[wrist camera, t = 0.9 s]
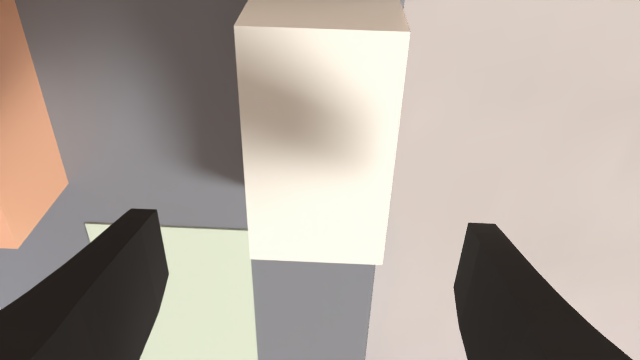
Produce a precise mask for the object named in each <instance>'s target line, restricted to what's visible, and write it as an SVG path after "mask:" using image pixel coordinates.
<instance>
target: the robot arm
mask: <svg viewBox="0 0 640 360" xmlns="http://www.w3.org/2000/svg"><path fill="white" fill-rule="evenodd" d="M168 276H169V271H168V266H167V260H166V255H165V250H164V244H163V239H162V234H161V228H160V223H159V218H158V212H157V209H135V208H131V209H130V210H128V211H127V212H126V213H125V214H123V215H122V216H121V217H120V218H119V219H117V220H116V221H115V222H114V223H113V224H112V225H110V226H109V227H108V228H107V229H106V230H105V231H103V232H102V233H101V234H100V235H99V236H97V237H96V238H95V239H94V240H93V241H92V242H90V243H89V244H88V245H87V246H85V247H84V248H83V249H82V250H81V251H79V252H78V253H77V254H76V255H75V256H73V257H72V258H71V259H70V260H68V261H67V262H66V263H65V264H63V265H62V266H61V267H60V268H58V269H57V270H56V271H54V272H53V273H52V274H50V275H49V276H48V277H46V278H45V279H44V280H42V281H41V282H40V283H38V284H37V285H36V286H34V287H33V288H32V289H30V290H29V291H28V292H26V293H25V294H23V295H22V296H21V297H19V298H18V299H16V300H15V301H13V302H12V303H10V304H9V305H7V306H6V307H4V308H3V309H1V310H0V360H140V357H141V355H142V352H143V350H144V348H145V345H146V343H147V340H148V338H149V336H150V333H151V331H152V328H153V326H154V323H155V321H156V318H157V316H158V313H159V310H160V307H161V303H162V300H163V296H164V292H165V288H166V284H167V280H168ZM454 294H455V302H456V310H457V316H458V323H459V329H460V332H461V336H462V340H463V344H464V348H465V351H466V355H467V359H468V360H632V359H631V358H630V357H629V356H628V355H626V354H625V353H624V352H623V351H621V350H620V349H619V348H618V347H617V346H615V345H614V344H613V343H612V342H611V341H609V340H608V339H607V338H606V337H604V336H603V335H602V334H601V333H600V332H599V331H598V330H596V329H595V328H594V327H593V326H592V325H591V324H590V323H589V322H587V321H586V320H585V319H584V318H583V317H582V316H581V315H580V314H579V313H578V312H577V311H576V310H575V309H574V308H573V307H572V306H571V305H569V304H568V303H567V302H566V301H565V300H564V299H563V298H562V297H561V296H560V295H559V294H558V293H557V292H556V291H555V290H554V289H553V288H552V286H551V285H550V284H549V283H548V282H547V281H546V280H545V279H544V278H543V277H542V276H541V275H540V274H539V273H538V272H537V271H536V269H535V268H534V267H533V266H532V265H531V264H530V263H529V262H528V261H527V259H526V258H525V257H524V256H523V255H522V254H521V253H520V252H519V250H518V249H517V248H516V247H515V246H514V245H513V244H512V242H511V241H510V240H509V239H508V238H507V237H506V236H505V234H504V233H503V232H502V231H501V230H500V229H499V228H498V227H497V225H496V224H485V223H468V227H467V231H466V235H465V240H464V244H463V248H462V253H461V257H460V261H459V266H458V270H457V275H456V279H455V283H454Z"/></svg>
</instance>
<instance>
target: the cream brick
mask: <svg viewBox="0 0 640 360" xmlns="http://www.w3.org/2000/svg"><path fill="white" fill-rule="evenodd" d="M234 37H235V51H236V65H237V80H238V94H239V109H240V123H241V137H242V152H243V166H244V180H245V195H246V209H247V224H248V238H249V252H250V259H256V260H279V261H301V262H324V263H346V264H369V265H383V256H384V248H385V240H386V231H387V223H388V215H389V206H390V198H391V189H392V181H393V173H394V164H395V156H396V148H397V139H398V131H399V122H400V114H401V106H402V97H403V89H404V81H405V72H406V64H407V55H408V47H409V39H410V29H409V26H408V23H407V20H406V17H405V13H404V10H403V7H402V4H401V1H400V0H248V1H247V3H246V5H245V7H244V8H243V10H242V12H241V14H240V15H239V17H238V19H237V21H236V23H235V24H234Z"/></svg>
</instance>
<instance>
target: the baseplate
mask: <svg viewBox="0 0 640 360" xmlns="http://www.w3.org/2000/svg"><path fill="white" fill-rule="evenodd" d="M247 1H248V0H15V3H16V7H17V10H18V14H19V17H20V20H21V24H22V27H23V31H24V34H25V37H26V41H27V44H28V47H29V51H30V54H31V58H32V61H33V64H34V68H35V71H36V75H37V78H38V81H39V85H40V88H41V92H42V95H43V98H44V102H45V105H46V108H47V112H48V115H49V119H50V122H51V125H52V129H53V132H54V136H55V139H56V142H57V146H58V149H59V153H60V156H61V159H62V163H63V166H64V169H65V173H66V176H67V180H68V183H69V184H68V185H67V186H66V188H65V189H64V190H63V191H62V193H61V194H60V195H59V197H58V198H57V199H56V200H55V202H54V203H53V204H52V206H51V207H50V208H49V209H48V211H47V212H46V213H45V215H44V216H43V217H42V218H41V220H40V221H39V222H38V224H37V225H36V226H35V228H34V229H33V230H32V231H31V233H30V234H29V235H28V237H27V238H26V239H25V240H24V242H23V243H22V244H21V246H20V247H19V248H18V249H7V248H0V308H1V309H3V308H4V307H6V306H7V305H9V304H10V303H12V302H13V301H15V300H16V299H18V298H19V297H21V296H22V295H23V294H25V293H26V292H28V291H29V290H30V289H32V288H33V287H34V286H36V285H37V284H38V283H40V282H41V281H42V280H44V279H45V278H46V277H48V276H49V275H50V274H52V273H53V272H54V271H56V270H57V269H58V268H60V267H61V266H62V265H63V264H65V263H66V262H67V261H68V260H70V259H71V258H72V257H73V256H75V255H76V254H77V253H78V252H79V251H81V250H82V249H83V248H84V247H85V246H87V245H88V244H89V243H90V242H92V241H93V240H94V239H95V238H96V237H97V236H99V235H100V234H101V233H102V232H103V231H105V230H106V229H107V228H108V227H109V226H110V225H112V224H113V223H114V222H115V221H116V220H117V219H119V218H120V217H121V216H122V215H123V214H125V213H126V212H127V211H128V210H130V209H131V208H135V209H157V212H158V218H159V223H160V228H161V234H162V239H163V244H164V250H165V255H166V260H167V266H168V271H169V276H168V280H167V284H166V288H165V292H164V296H163V300H162V303H161V307H160V310H159V313H158V316H157V318H156V321H155V323H154V326H153V328H152V331H151V333H150V336H149V338H148V340H147V343H146V345H145V348H144V350H143V352H142V355H141V357H140V360H365V356H366V347H367V337H368V328H369V319H370V310H371V301H372V292H373V283H374V273H375V265H369V264H346V263H324V262H301V261H279V260H256V259H250V252H249V238H248V224H247V209H246V195H245V180H244V166H243V152H242V137H241V123H240V109H239V94H238V80H237V65H236V51H235V37H234V24H235V23H236V21H237V19H238V17H239V15H240V14H241V12H242V10H243V8H244V7H245V5H246V3H247ZM400 1H401V4H402V7H403V8H404V0H400Z"/></svg>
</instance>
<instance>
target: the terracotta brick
mask: <svg viewBox="0 0 640 360" xmlns="http://www.w3.org/2000/svg"><path fill="white" fill-rule="evenodd" d="M68 184H69V183H68V180H67V176H66V173H65V169H64V166H63V163H62V159H61V156H60V153H59V149H58V146H57V142H56V139H55V136H54V132H53V129H52V125H51V122H50V119H49V115H48V112H47V108H46V105H45V102H44V98H43V95H42V92H41V88H40V85H39V81H38V78H37V75H36V71H35V68H34V64H33V61H32V58H31V54H30V51H29V47H28V44H27V41H26V37H25V34H24V31H23V27H22V24H21V20H20V17H19V14H18V10H17V7H16V3H15V0H0V248H7V249H18V248H19V247H20V246H21V244H22V243H23V242H24V240H25V239H26V238H27V237H28V235H29V234H30V233H31V231H32V230H33V229H34V228H35V226H36V225H37V224H38V222H39V221H40V220H41V218H42V217H43V216H44V215H45V213H46V212H47V211H48V209H49V208H50V207H51V206H52V204H53V203H54V202H55V200H56V199H57V198H58V197H59V195H60V194H61V193H62V191H63V190H64V189H65V188H66V186H67V185H68Z"/></svg>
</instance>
